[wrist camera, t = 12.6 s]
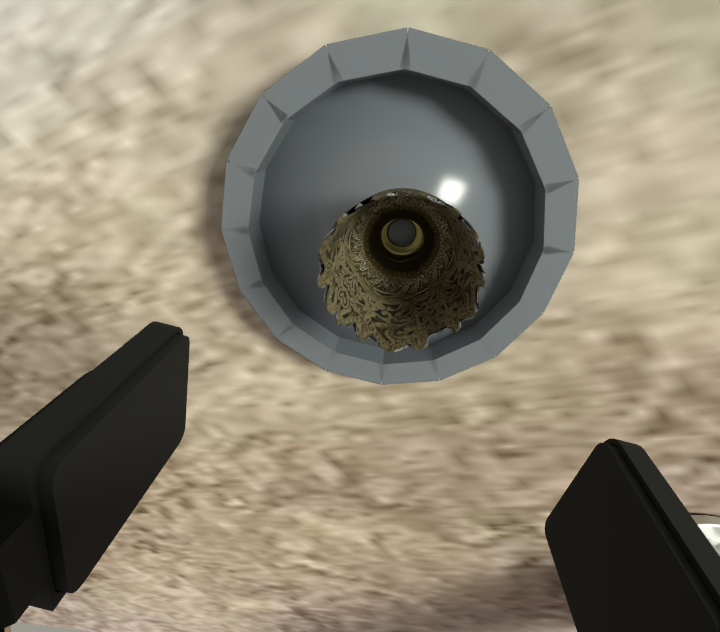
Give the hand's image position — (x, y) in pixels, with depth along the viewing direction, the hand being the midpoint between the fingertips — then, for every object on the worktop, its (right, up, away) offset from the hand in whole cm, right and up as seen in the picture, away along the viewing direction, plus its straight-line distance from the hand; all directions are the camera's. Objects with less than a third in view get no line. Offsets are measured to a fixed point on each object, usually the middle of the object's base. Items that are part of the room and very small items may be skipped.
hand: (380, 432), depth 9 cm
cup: (+2, +8, +16) cm, 18 cm away
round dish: (+2, +8, +16) cm, 18 cm away
